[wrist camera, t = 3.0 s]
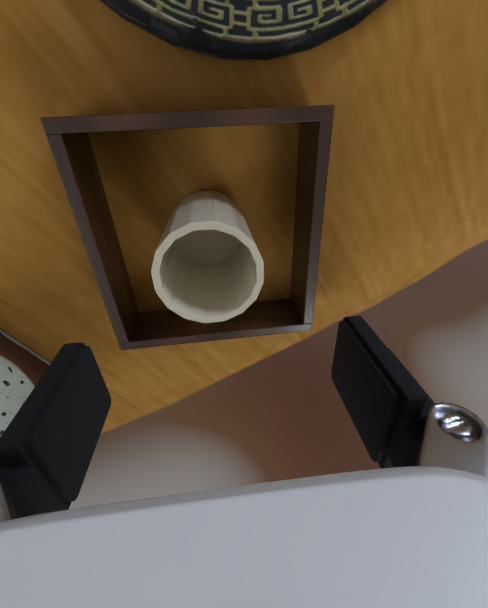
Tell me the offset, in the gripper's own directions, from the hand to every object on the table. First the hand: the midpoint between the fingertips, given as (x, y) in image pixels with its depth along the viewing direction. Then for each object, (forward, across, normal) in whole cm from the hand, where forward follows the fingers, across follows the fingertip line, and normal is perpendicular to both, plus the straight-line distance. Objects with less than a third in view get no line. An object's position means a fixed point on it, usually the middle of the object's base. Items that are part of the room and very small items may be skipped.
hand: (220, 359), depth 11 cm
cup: (+16, 0, 0) cm, 16 cm away
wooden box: (+16, 0, 0) cm, 16 cm away
